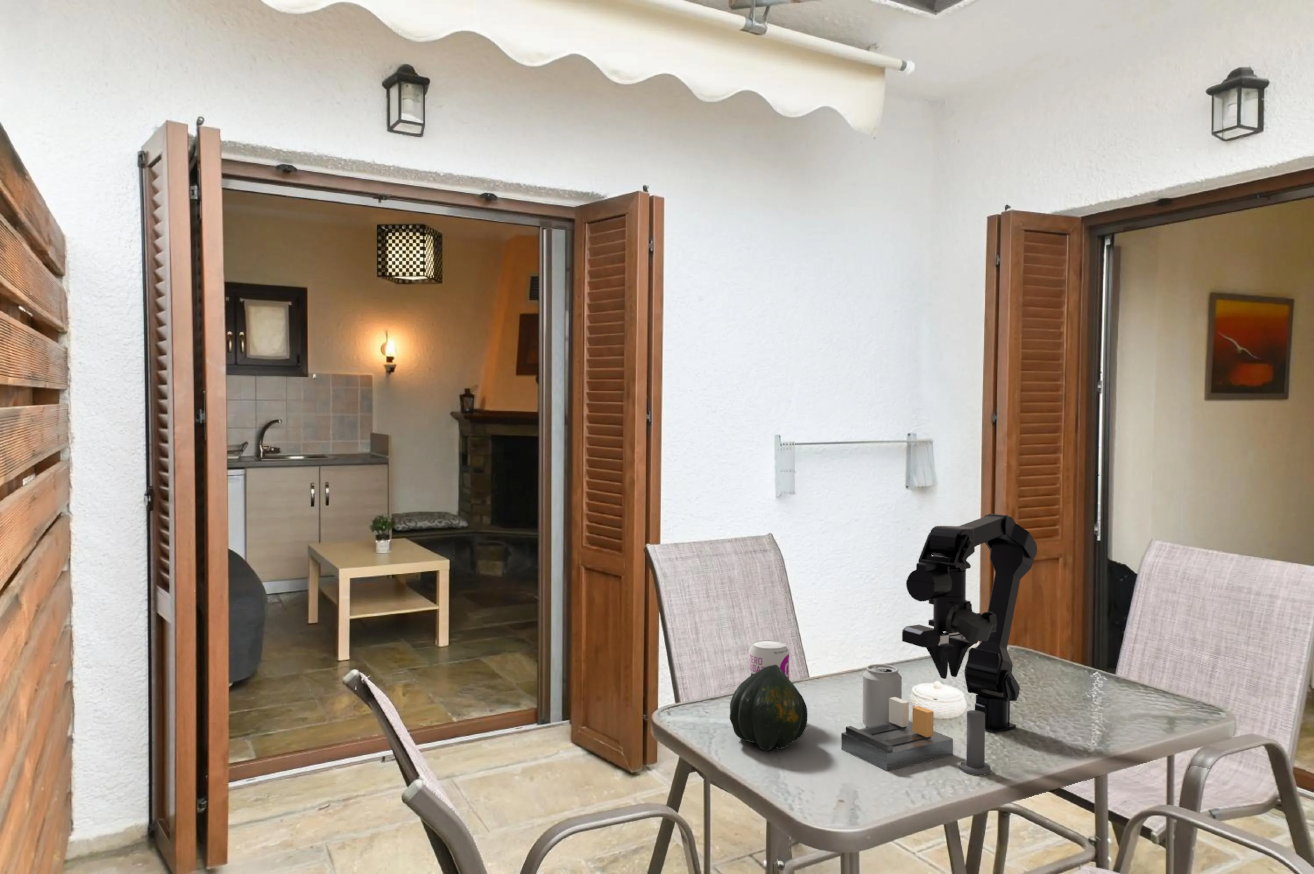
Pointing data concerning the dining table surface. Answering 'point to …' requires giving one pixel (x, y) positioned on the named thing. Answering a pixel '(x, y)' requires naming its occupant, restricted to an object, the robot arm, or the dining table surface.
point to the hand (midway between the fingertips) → (948, 677)
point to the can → (879, 693)
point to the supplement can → (768, 656)
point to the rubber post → (975, 745)
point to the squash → (768, 709)
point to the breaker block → (894, 745)
